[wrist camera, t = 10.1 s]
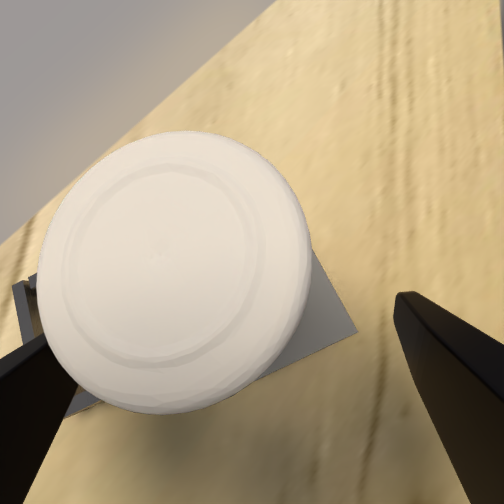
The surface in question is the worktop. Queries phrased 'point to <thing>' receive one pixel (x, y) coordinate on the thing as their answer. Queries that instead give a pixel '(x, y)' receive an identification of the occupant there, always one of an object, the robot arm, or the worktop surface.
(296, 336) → the rubber pad
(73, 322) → the sprinkles bottle
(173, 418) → the worktop surface
